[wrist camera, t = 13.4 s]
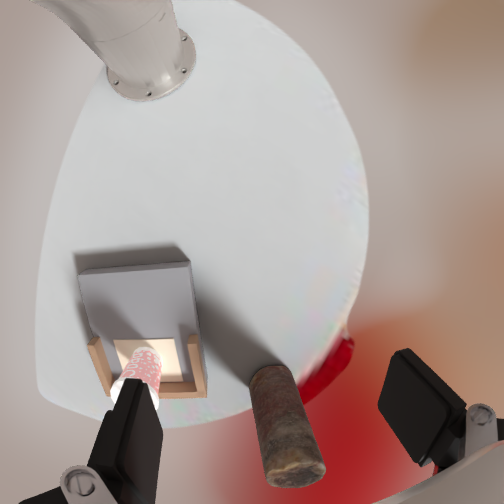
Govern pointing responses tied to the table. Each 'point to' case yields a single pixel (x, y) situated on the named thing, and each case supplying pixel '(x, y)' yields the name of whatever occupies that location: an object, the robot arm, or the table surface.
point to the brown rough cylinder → (284, 430)
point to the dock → (146, 324)
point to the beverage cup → (142, 372)
